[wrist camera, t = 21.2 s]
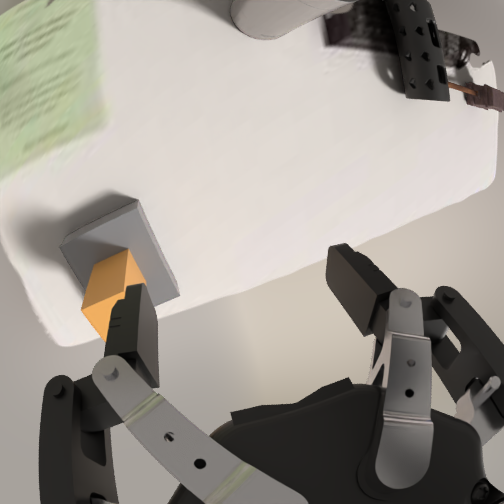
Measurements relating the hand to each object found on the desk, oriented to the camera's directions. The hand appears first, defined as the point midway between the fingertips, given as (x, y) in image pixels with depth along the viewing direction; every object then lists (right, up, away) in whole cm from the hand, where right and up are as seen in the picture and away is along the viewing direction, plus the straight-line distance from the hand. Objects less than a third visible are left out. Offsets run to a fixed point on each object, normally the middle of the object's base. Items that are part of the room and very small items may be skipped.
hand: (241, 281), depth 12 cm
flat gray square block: (-18, 0, +25) cm, 31 cm away
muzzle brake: (+28, +43, +23) cm, 56 cm away
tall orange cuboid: (-17, -2, +22) cm, 28 cm away
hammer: (+48, +41, +32) cm, 71 cm away
